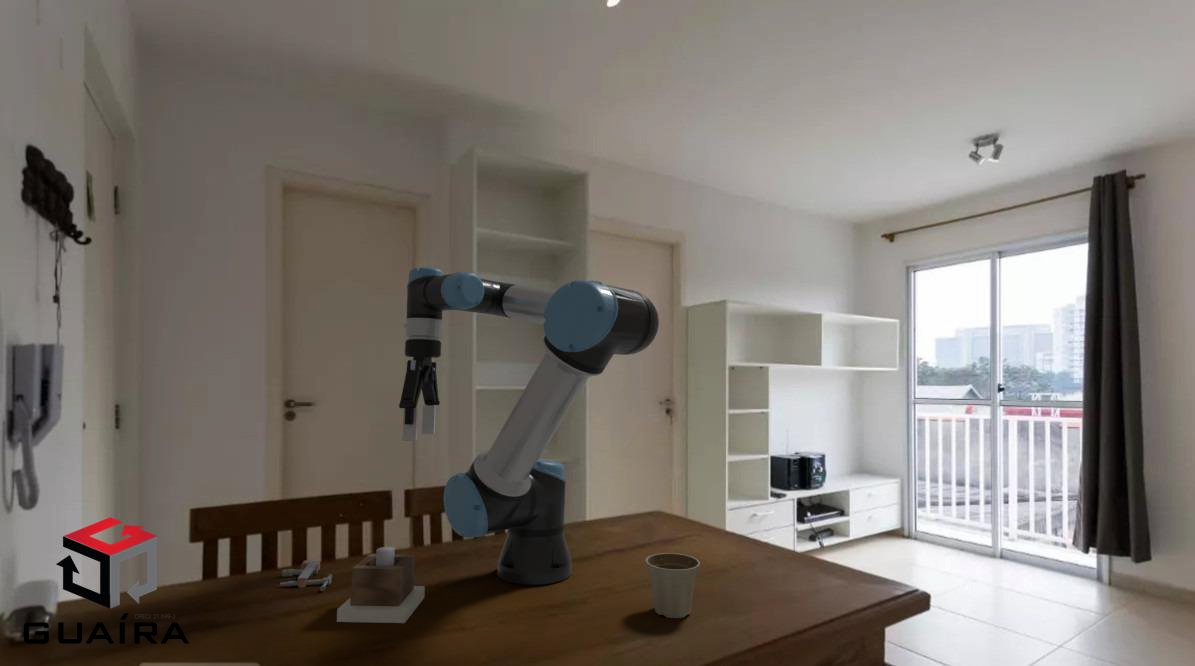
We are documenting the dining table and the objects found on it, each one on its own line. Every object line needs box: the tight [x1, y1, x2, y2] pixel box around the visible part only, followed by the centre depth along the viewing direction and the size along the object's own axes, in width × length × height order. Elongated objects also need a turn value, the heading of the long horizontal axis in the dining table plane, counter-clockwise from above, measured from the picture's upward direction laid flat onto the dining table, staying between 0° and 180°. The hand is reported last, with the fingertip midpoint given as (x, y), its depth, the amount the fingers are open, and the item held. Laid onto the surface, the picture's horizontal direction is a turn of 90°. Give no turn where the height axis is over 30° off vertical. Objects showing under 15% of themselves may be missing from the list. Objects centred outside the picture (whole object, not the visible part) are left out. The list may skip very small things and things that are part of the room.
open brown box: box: [350, 553, 416, 606], centre depth 100 cm, size 8×8×6 cm
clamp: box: [279, 559, 333, 592], centre depth 113 cm, size 15×2×10 cm
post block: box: [336, 546, 426, 624], centre depth 100 cm, size 11×11×10 cm
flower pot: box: [645, 552, 701, 619], centre depth 102 cm, size 9×9×9 cm
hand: (419, 437), depth 126 cm, fingers open, 13 cm apart
